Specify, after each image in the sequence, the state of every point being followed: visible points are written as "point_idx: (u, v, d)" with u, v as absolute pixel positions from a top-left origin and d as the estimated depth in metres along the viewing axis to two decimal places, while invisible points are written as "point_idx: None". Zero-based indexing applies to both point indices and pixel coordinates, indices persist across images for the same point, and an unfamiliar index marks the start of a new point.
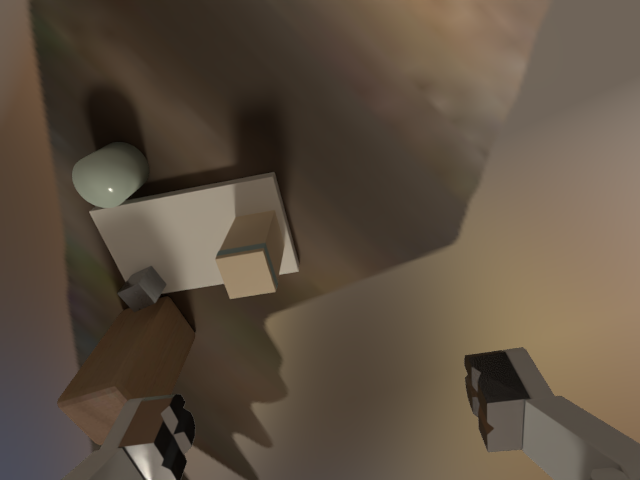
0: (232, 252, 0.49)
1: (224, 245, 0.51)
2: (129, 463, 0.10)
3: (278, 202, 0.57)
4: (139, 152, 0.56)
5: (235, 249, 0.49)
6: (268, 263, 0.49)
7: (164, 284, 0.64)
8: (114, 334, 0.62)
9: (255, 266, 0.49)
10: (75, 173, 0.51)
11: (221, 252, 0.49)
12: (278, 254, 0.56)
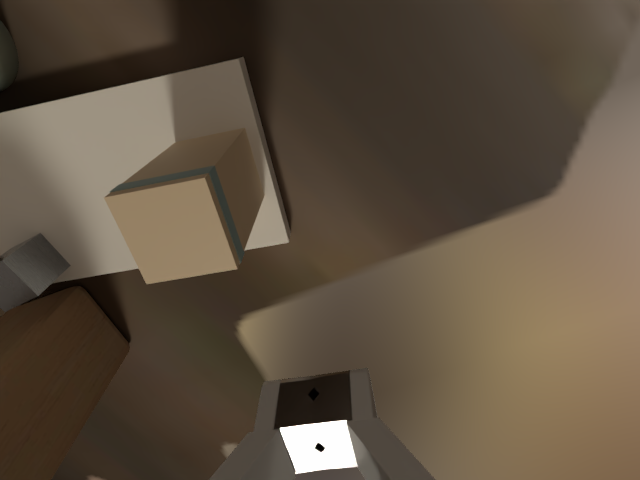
0: (142, 184, 0.23)
1: (135, 176, 0.25)
2: (283, 446, 0.10)
3: (250, 112, 0.32)
4: None
5: (151, 179, 0.24)
6: (219, 208, 0.23)
7: (65, 265, 0.38)
8: None
9: (191, 213, 0.23)
10: None
11: (122, 187, 0.24)
12: (249, 203, 0.30)
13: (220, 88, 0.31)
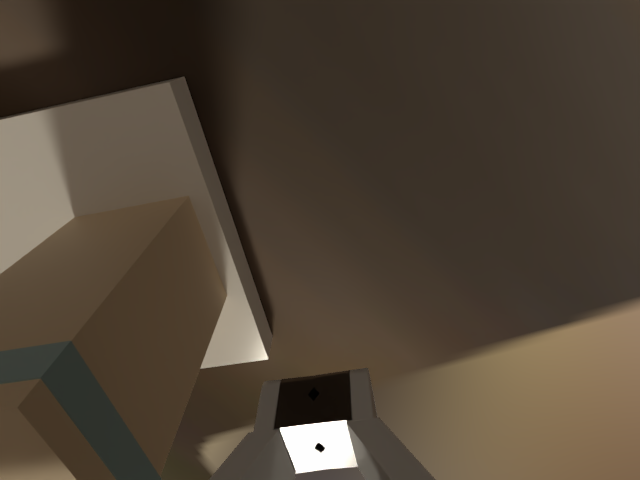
0: None
1: None
2: (283, 446, 0.10)
3: (197, 172, 0.19)
4: None
5: None
6: (77, 445, 0.10)
7: None
8: None
9: (6, 467, 0.10)
10: None
11: None
12: (187, 342, 0.17)
13: (141, 132, 0.18)
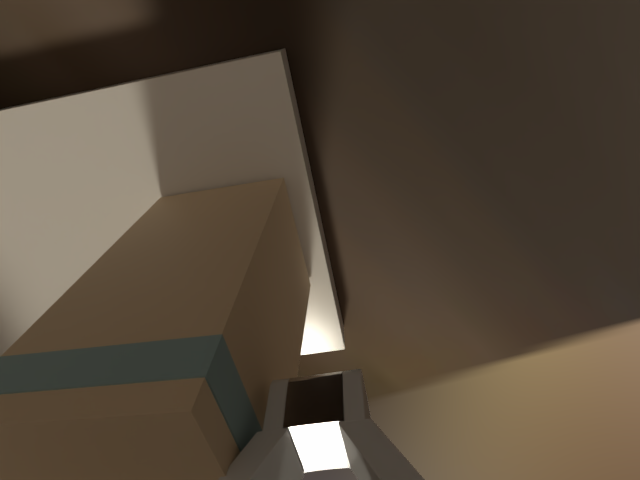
0: (35, 388, 0.09)
1: (46, 322, 0.11)
2: (292, 445, 0.10)
3: (297, 149, 0.18)
4: None
5: (64, 361, 0.09)
6: (231, 451, 0.09)
7: None
8: None
9: (158, 472, 0.09)
10: None
11: None
12: (290, 335, 0.15)
13: (243, 105, 0.17)
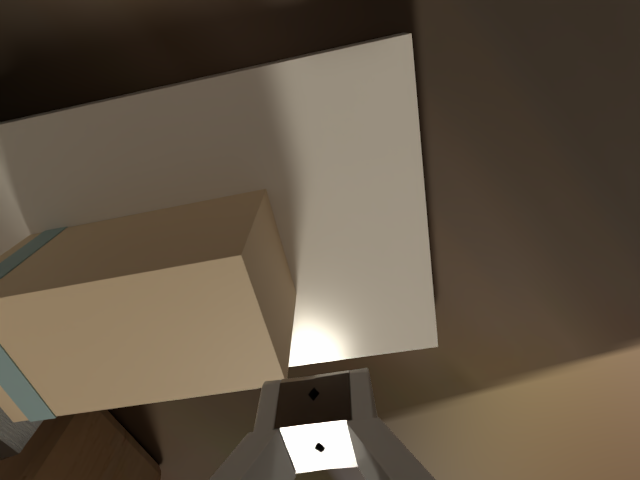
0: (16, 251, 0.18)
1: (86, 226, 0.19)
2: (283, 446, 0.10)
3: (415, 137, 0.17)
4: None
5: (29, 250, 0.17)
6: None
7: None
8: None
9: None
10: None
11: (50, 233, 0.19)
12: (145, 375, 0.16)
13: (365, 91, 0.16)
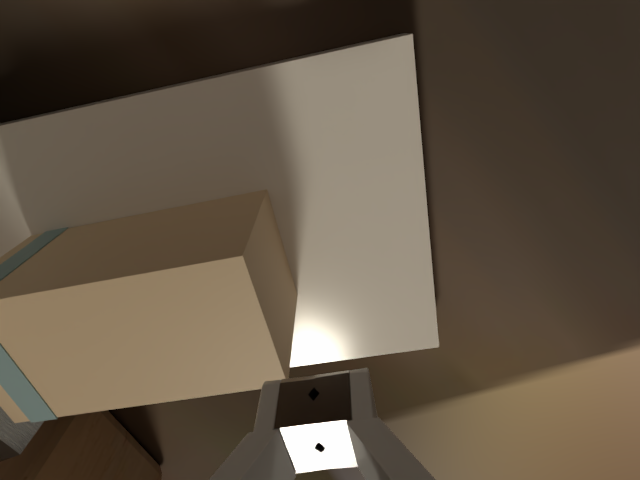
0: (18, 252, 0.18)
1: (87, 227, 0.19)
2: (283, 446, 0.10)
3: (416, 137, 0.17)
4: None
5: (30, 251, 0.17)
6: None
7: None
8: None
9: None
10: None
11: (52, 234, 0.19)
12: (147, 376, 0.16)
13: (366, 92, 0.16)
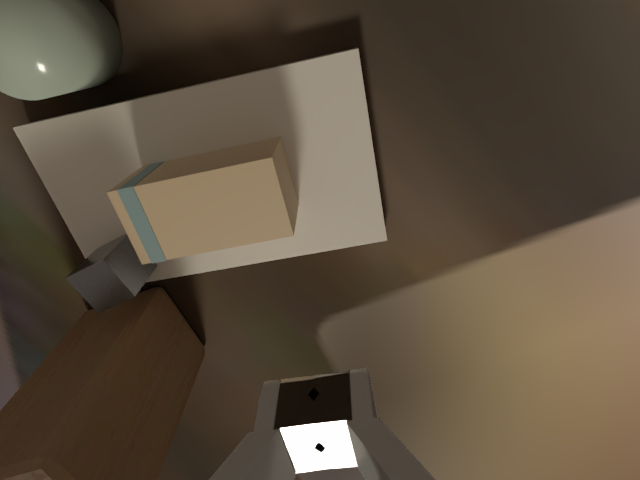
0: (140, 171, 0.31)
1: (177, 160, 0.33)
2: (283, 446, 0.10)
3: (364, 104, 0.31)
4: (101, 5, 0.29)
5: (148, 170, 0.31)
6: (126, 217, 0.29)
7: (153, 265, 0.37)
8: (64, 352, 0.35)
9: None
10: None
11: (155, 164, 0.33)
12: (218, 231, 0.29)
13: (335, 79, 0.30)
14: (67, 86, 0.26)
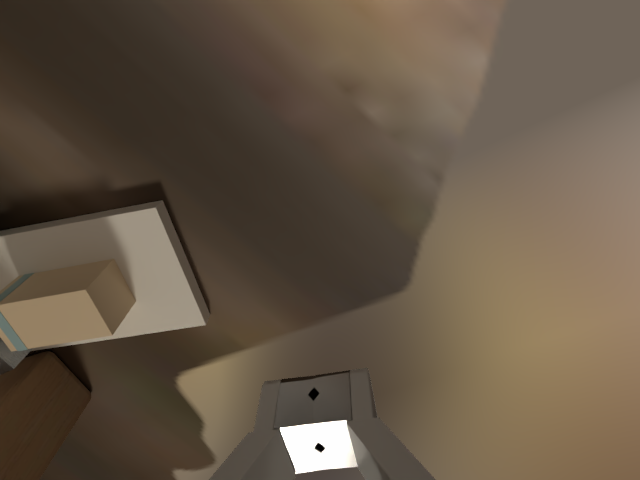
0: (12, 284, 0.44)
1: (41, 273, 0.45)
2: (283, 446, 0.10)
3: (168, 240, 0.44)
4: None
5: (17, 284, 0.44)
6: None
7: None
8: None
9: None
10: None
11: (27, 276, 0.46)
12: (60, 331, 0.42)
13: (144, 225, 0.43)
14: None
